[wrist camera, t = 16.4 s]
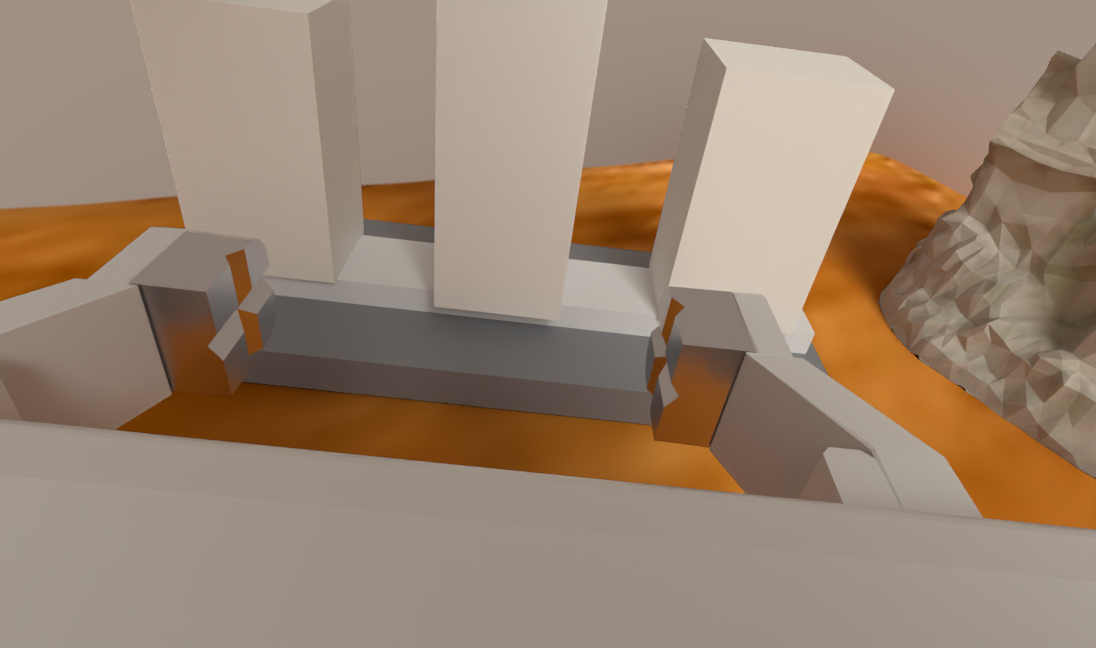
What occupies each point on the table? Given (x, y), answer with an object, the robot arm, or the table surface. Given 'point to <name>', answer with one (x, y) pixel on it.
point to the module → (510, 149)
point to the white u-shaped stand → (408, 250)
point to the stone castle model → (1019, 271)
